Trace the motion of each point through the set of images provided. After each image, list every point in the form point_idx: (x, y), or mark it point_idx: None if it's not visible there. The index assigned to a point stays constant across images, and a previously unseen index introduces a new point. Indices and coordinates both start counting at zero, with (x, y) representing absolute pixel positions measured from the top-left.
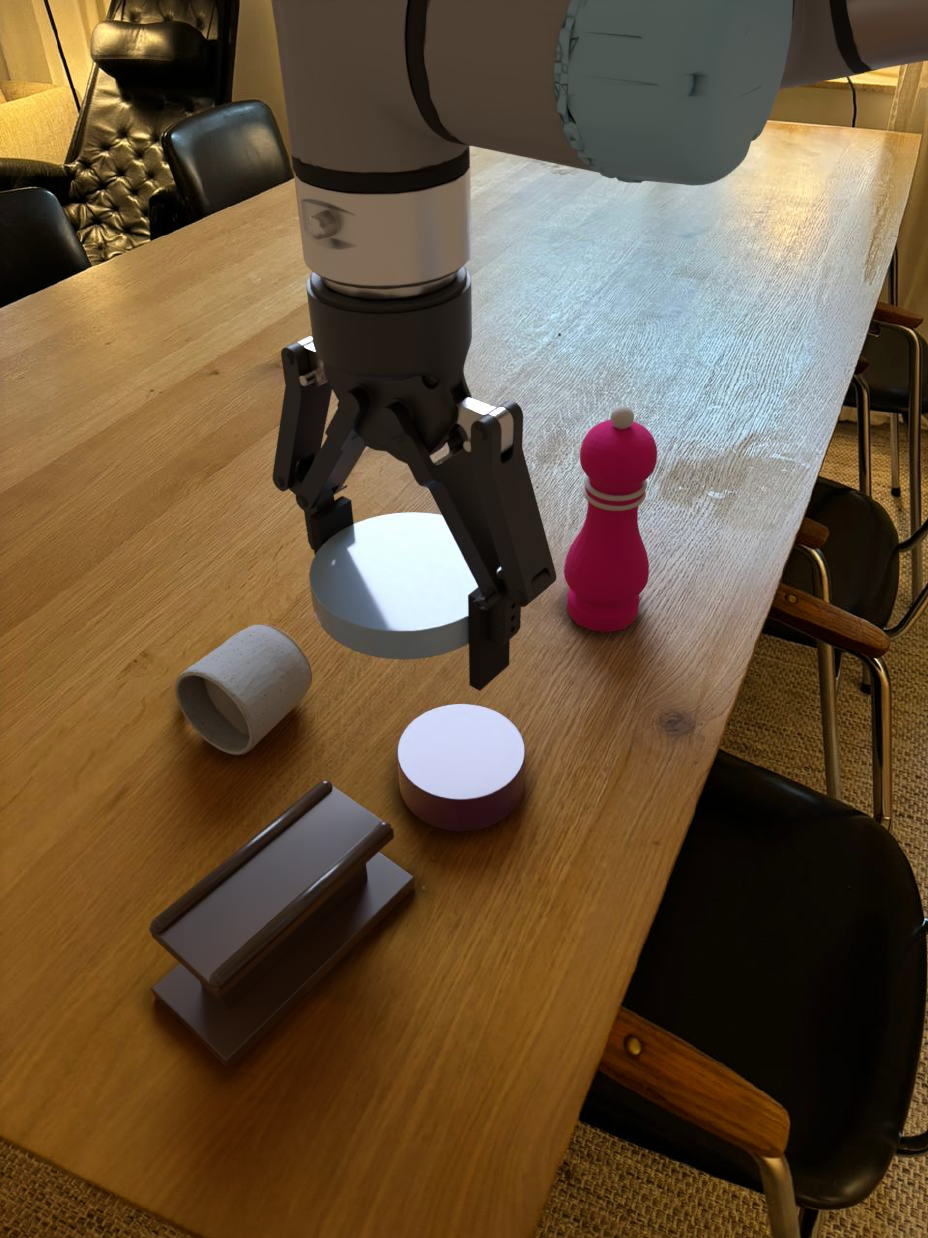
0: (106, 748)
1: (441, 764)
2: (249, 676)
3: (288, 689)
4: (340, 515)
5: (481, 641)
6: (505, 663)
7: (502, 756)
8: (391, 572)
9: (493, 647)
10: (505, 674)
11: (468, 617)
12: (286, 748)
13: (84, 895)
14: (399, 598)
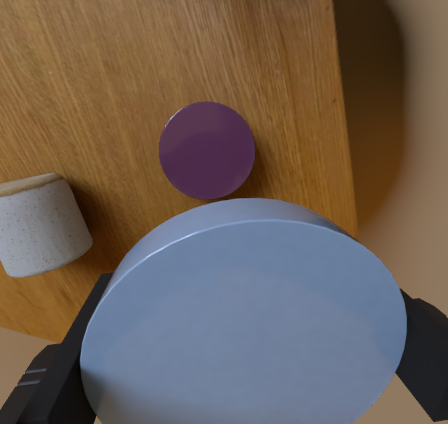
0: (19, 285)
1: (207, 174)
2: (50, 246)
3: (69, 210)
4: (67, 418)
5: None
6: None
7: (235, 137)
8: (242, 390)
9: None
10: (149, 28)
11: (398, 376)
12: (97, 209)
13: None
14: (294, 410)
